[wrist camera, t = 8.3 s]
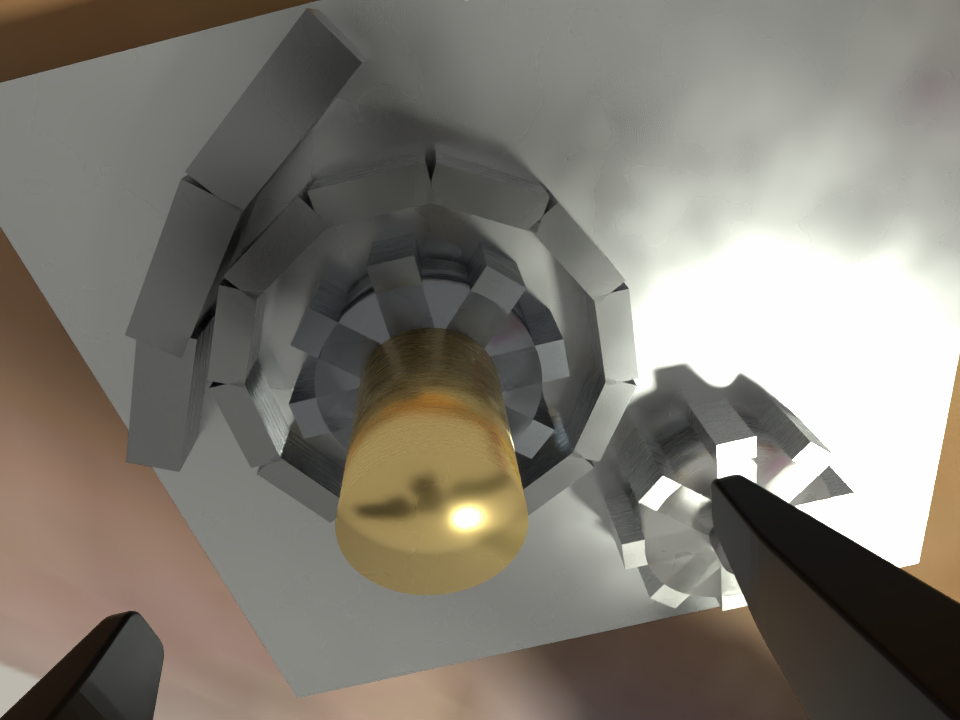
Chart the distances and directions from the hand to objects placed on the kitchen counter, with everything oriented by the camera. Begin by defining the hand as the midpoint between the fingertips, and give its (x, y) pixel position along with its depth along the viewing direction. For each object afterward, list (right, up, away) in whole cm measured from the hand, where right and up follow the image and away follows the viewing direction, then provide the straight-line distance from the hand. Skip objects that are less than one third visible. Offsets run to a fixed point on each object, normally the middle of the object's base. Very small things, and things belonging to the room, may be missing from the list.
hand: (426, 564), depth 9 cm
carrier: (+3, +3, +8) cm, 9 cm away
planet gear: (0, +3, +6) cm, 7 cm away
